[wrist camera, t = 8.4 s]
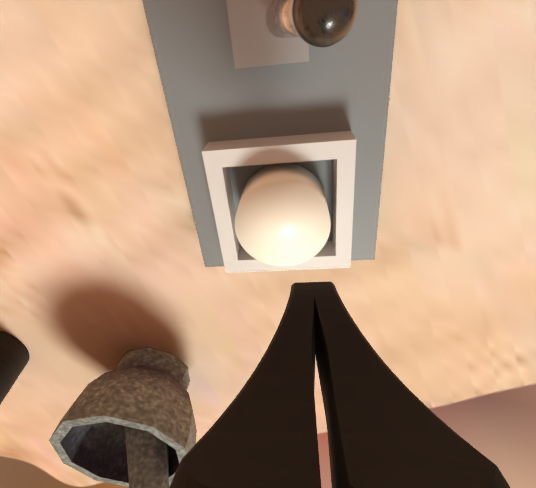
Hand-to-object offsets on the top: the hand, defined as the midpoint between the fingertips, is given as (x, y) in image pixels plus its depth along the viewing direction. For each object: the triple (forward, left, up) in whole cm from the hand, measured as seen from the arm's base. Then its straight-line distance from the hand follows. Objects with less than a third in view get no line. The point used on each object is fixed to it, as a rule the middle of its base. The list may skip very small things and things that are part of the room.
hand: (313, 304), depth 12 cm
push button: (+1, 0, -7) cm, 7 cm away
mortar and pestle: (+13, +17, -10) cm, 23 cm away
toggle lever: (+1, -8, -7) cm, 11 cm away
